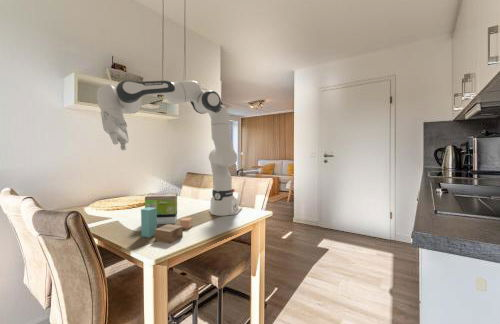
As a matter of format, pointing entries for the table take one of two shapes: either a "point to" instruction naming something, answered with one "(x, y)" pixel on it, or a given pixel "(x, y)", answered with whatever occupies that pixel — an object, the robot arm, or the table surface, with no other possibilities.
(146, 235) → the teal block
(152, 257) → the table surface
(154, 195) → the tea box
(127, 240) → the table surface
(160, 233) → the walnut base block
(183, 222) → the terracotta block
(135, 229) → the table surface
